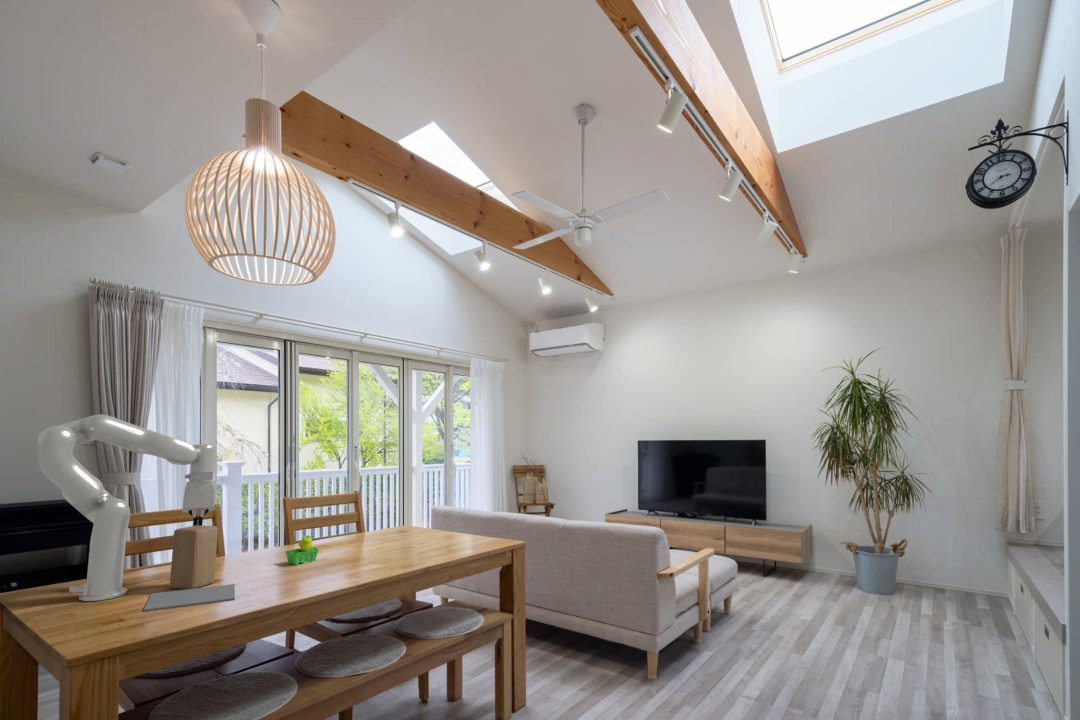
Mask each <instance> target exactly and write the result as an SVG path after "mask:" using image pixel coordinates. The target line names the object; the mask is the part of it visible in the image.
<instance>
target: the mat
mask: <svg viewBox="0 0 1080 720" xmlns="http://www.w3.org/2000/svg"><path fill="white" fill-rule="evenodd" d="M235 592H236V591H235V583H232V584H231V583H230V584H224V585H213V586H203V587H200V588H195V589H177V590H170V591H162V592H161V591H160V592H154V593H153V592H152V593H151V595H150V597H149V599H148V601H147V603H146V605H145V607H144V608H143V612H144V611H145V612H151V611H150V610H153V611H160V610H159V609H161V610H169V609H176V608H184V607H190V606H199V605H205V604H206V605H207V603H208V604H215V603H222V602H230V601H235V600H236V599H235V594H236V593H235Z"/></svg>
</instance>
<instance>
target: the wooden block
mask: <svg viewBox="0 0 1080 720" xmlns="http://www.w3.org/2000/svg"><path fill="white" fill-rule="evenodd" d="M218 530H219V528H218V527H217V526H215V525H202V526H199V525H196V526H193V525H192V526H186V527H182V528H176V529H175V530H174V532H173V540H172V553H171V554H172V555H171V566H170V567H171V568H170V580H169V587H170V589H173V588H174V590H187V589H195V588H199V587H200V588H203V587H206V586H208V585H212V584H213V583H215V575H216V560H217V547H218V545H217V544H218V534H219V533H218ZM205 585H206V586H205ZM202 586H203V587H202Z"/></svg>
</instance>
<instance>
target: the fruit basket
mask: <svg viewBox="0 0 1080 720" xmlns="http://www.w3.org/2000/svg"><path fill="white" fill-rule="evenodd" d="M313 545H314V543H313V541H312V536H311V535H308V534H307V535H305V536H304V537H302V539H301V540H300V541H299V542H298V547H299V548H296V549H290V550H285V554H286V558H287V562H288V564H289V563H291V564H290V565H292V564H294V565H293V566H296V565H295V564H299V563H304V562H310V561H315V562H316V559H317V557H318V553H319V551H320V549H319V548H316V547H313ZM310 563H311V562H310ZM304 564H305V563H304ZM299 565H300V564H299Z"/></svg>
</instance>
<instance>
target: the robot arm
mask: <svg viewBox="0 0 1080 720" xmlns="http://www.w3.org/2000/svg"><path fill="white" fill-rule="evenodd" d="M93 441H99V442H103V443H106V444H108V445H111V446H114V447H117V448H122V449H124V450H126V451H130V452H132V453H137V454H143V455H151V456H154V457H158V458H161V459H164V460H166V461H167V462H168V463H170V464H172V465H178V466H179V465H181V466H186V465H190V468H189V469H190V470H189V473H187V474H185V475H184V479H187V480H188V481H186V483H185V487H184V493H183V500H182V501H183V502H182V509H181V512H182V513H184V514H185V513H186V514H189V515H190V516H192V518H193V519H192V520H193V521H192V526H196V525H199V526H203V521H204V519H203V518H204V516H206V515H207V514H208V513H209V512H213V511H216V481H215V480H213V479H214V478H213V477H214V467H215V466H214V464H215V452H216V451H215V450H216V449H215V445H214V444H212V443H211V444H210V443H208V444H207V443H203V444H202V443H200V444H199V443H197V444H190V443H188V442H186V441H183V440H180V439H176V438H174V437H171V436H167V435H164V434H162V433H159V432H157V431H153V430H151V429H147V428H144V427H142V426H139V425H136V424H133V423H130V422H127V421H125V420H122V419H119V418H116V417H114V416H111V415H109V414H108V415H107V414H93V415H90V416H87V417H84V418H83V417H82V418H80V419H75V420H73V421H69V422H65V423H62V424H57V425H53V426H51V427H47V428H45V429H44V430H42V431H41V432H40V433H39V434H38V437H37V445H38V447H39V448H38V453H37V461H38V465H39V469H40V470H41V472H42V473H43V474H44V475H45V477H47V479H49V480H50V481H51V482H52V483H53V484H54V485H55V487H57V488H58V489H59V490H60V491H61V494H62V497H63V499H64V500H65V501H67V502H68V503H69V504H70V505H71V506H72V507H74V508H75V510H77V511H78V512H79V513H80V514H81V515H82V516H84V517H85V518H86V519H87V520H89V521H90V522H91V523H93V525H92V526H93V527H92V531H91V536H90V540H89V541H90V542H89V553H88V564H87V574H86V577H87V578H86V582H85V583H84V584H81V585H75V586H69V589H68V594H78V593H81V594H79V595H78V599H79V601H81V600H82V602H95V601H104V600H110V599H114V598H119V597H122V596H125V595H126V594H127V593H128V588H126V587H123V578H124V566H125V557H126V556H125V555H126V554H125V553H126V544H127V535H128V528H129V523H130V520H131V519H130V518H131V509H130V506H129V503H127V501H125V500H123V499H121V498H118V497H115V496H113V495H112V494H111V493H110V492H109V491H107V490H106V489H105V488H104V485H103V483H102V481H101V480H100V479H99V478H97V477H96V476H95V475H93V473H91V472H90V471H88V470H87V469H86V468H85V467H84V466H83V465H82V464H81V463H80V462H79V461H78V460H77V459H76V458H75V456H74V452H73V451H74V448H75V447H77V446H80V445H84V444H87V443H91V442H93ZM200 509H201V510H200ZM197 510H200V514H199V515H198V513H197Z"/></svg>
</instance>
